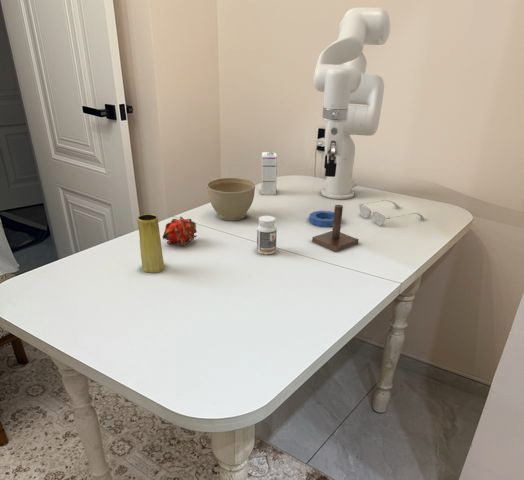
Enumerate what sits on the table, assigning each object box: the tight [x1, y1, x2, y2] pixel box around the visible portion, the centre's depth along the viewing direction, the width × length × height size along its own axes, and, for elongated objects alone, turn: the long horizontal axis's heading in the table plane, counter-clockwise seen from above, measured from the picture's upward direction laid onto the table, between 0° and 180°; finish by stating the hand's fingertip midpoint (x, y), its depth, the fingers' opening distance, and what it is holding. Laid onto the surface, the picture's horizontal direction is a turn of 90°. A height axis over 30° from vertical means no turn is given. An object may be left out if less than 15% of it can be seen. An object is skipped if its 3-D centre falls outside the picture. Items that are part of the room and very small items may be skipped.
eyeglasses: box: [358, 199, 425, 226], centre depth 171 cm, size 15×18×4 cm
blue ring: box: [308, 210, 334, 228], centre depth 167 cm, size 10×10×2 cm
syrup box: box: [260, 151, 278, 196], centre depth 189 cm, size 6×6×14 cm
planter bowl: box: [206, 177, 256, 221], centre depth 167 cm, size 16×16×11 cm
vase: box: [136, 213, 166, 274], centre depth 131 cm, size 6×6×14 cm
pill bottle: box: [256, 215, 277, 255], centre depth 143 cm, size 6×6×10 cm
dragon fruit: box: [162, 216, 198, 247], centre depth 147 cm, size 8×8×12 cm
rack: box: [311, 204, 359, 253], centre depth 149 cm, size 10×10×12 cm
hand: (329, 172), depth 160 cm, fingers open, 9 cm apart
